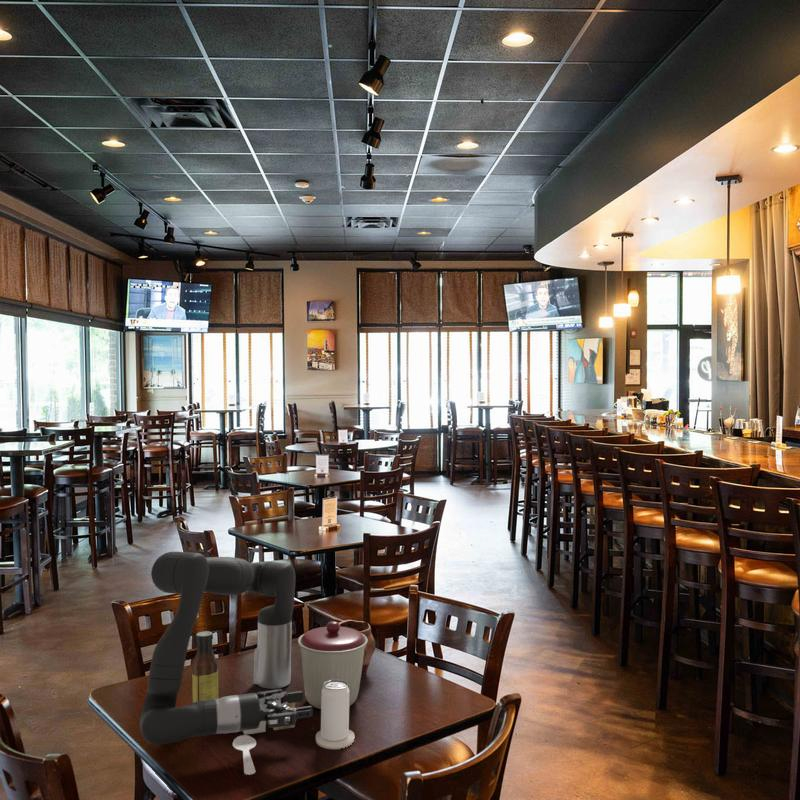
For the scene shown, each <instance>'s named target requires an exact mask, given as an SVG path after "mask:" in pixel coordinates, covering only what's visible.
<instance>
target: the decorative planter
mask: <svg viewBox="0 0 800 800" xmlns="http://www.w3.org/2000/svg"><path fill="white" fill-rule="evenodd" d="M338 623H339V625H340V627H347V628H351V629H354V630H357V631H359V632H360V633H362V634H364V635H365V636H366V637H367V639H368V642H367V644H366V645H365V649H364V657H363V665H362V672H361V676H363V675H365V674H367V671H368V668H369V666H370V663H371V660H372V657H373V654H374V652H375V649H376V641H375V638H374V636H373V634H372V628H371V625H370V624H369V623H368V622H366V621H362V620H360V621H358V620H354V619H353V620H352V619H346V620H342V621H340V622H338Z"/></svg>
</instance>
